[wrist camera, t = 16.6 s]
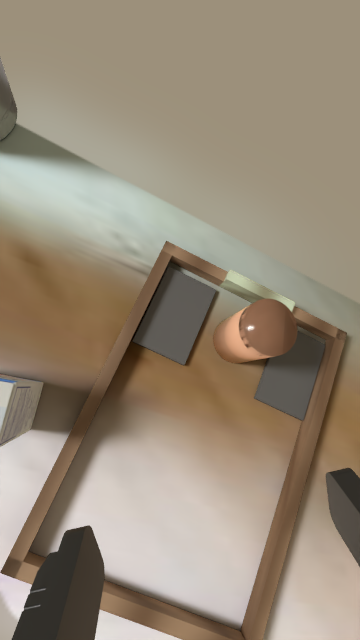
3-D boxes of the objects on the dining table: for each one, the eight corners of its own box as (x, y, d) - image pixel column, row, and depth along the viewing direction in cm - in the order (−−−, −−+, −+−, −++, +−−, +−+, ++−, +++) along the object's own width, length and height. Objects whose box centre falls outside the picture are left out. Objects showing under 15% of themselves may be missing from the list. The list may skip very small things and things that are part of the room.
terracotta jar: (206, 351, 33) (234, 340, 26) (223, 310, 35) (254, 288, 27) (247, 370, 34) (287, 366, 26) (262, 329, 35) (304, 313, 28)
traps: (132, 341, 32) (132, 340, 31) (168, 267, 34) (168, 266, 34) (300, 420, 34) (303, 420, 33) (322, 345, 36) (325, 344, 36)
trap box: (6, 561, 26) (-4, 578, 24) (163, 247, 35) (167, 237, 32) (247, 650, 28) (259, 674, 26) (337, 335, 37) (352, 331, 35)
